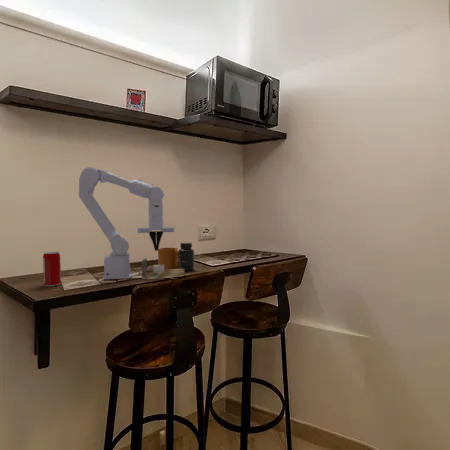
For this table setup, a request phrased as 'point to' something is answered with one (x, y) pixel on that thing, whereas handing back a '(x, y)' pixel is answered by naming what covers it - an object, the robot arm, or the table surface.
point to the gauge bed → (159, 275)
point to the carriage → (158, 268)
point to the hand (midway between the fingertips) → (156, 250)
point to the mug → (168, 257)
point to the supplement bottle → (186, 257)
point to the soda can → (51, 268)
